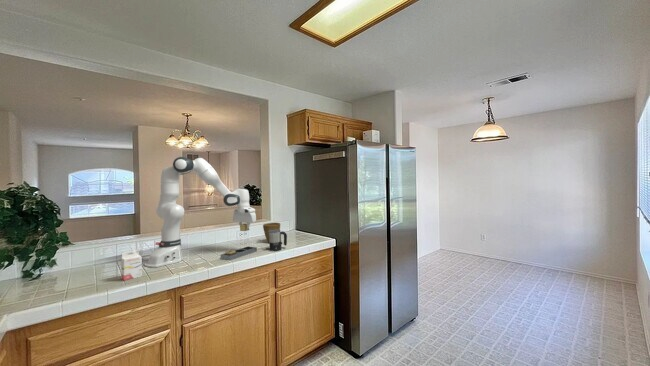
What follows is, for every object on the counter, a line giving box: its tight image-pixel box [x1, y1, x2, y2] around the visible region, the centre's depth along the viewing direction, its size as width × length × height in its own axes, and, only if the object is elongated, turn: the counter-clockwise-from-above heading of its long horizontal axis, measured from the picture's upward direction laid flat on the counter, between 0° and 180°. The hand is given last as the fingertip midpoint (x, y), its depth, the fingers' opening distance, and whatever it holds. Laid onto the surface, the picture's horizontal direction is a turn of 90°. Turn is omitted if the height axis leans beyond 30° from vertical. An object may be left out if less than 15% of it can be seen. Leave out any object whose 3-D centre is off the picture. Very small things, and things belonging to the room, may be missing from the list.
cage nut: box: [239, 223, 250, 232], centre depth 197 cm, size 5×5×5 cm
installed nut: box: [224, 249, 236, 255], centre depth 182 cm, size 5×5×5 cm
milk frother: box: [268, 229, 288, 252], centre depth 207 cm, size 14×16×15 cm
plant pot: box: [262, 222, 281, 244], centre depth 228 cm, size 15×15×16 cm
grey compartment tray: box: [220, 245, 258, 261], centre depth 189 cm, size 25×9×4 cm, turn 151°
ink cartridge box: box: [120, 249, 143, 281], centre depth 149 cm, size 9×5×15 cm, turn 141°
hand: (244, 228), depth 197 cm, fingers closed on cage nut, 5 cm apart
